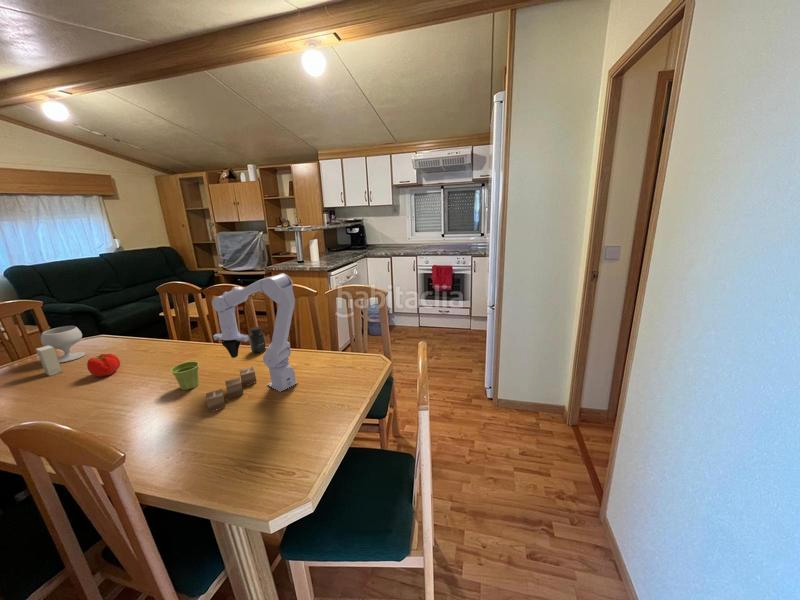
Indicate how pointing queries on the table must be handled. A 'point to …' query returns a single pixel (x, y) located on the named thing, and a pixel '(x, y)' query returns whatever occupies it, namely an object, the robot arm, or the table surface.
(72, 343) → the chalice
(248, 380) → the block seven
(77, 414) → the table surface
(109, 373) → the tomato
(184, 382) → the plant pot
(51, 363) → the skincare box
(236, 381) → the plain block
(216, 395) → the block one
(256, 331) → the supplement bottle
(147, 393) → the table surface
